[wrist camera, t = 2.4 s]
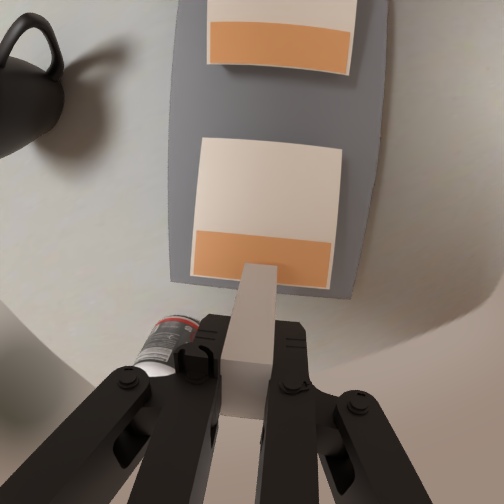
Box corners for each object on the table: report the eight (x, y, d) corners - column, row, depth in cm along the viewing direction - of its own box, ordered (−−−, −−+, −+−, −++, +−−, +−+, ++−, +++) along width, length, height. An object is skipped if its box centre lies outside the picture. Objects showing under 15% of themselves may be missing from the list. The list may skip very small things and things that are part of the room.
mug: (123, 66, 20) (46, 50, 11) (40, 166, 24) (-36, 194, 15) (76, 11, 18) (2, -13, 9) (3, 109, 22) (-71, 121, 13)
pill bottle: (219, 357, 30) (198, 440, 21) (167, 362, 31) (135, 437, 22) (200, 309, 28) (167, 391, 19) (145, 316, 29) (100, 391, 20)
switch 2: (211, 147, 18) (201, 136, 15) (333, 158, 17) (342, 149, 15) (200, 268, 18) (189, 276, 16) (322, 280, 18) (329, 289, 16)
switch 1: (219, -51, 11) (208, -61, 9) (351, -42, 11) (361, -50, 9) (216, 58, 16) (206, 64, 14) (341, 68, 15) (349, 76, 13)
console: (219, -115, 12) (207, -148, 7) (364, -104, 12) (377, -136, 6) (189, 252, 26) (168, 285, 21) (342, 266, 25) (356, 303, 20)
